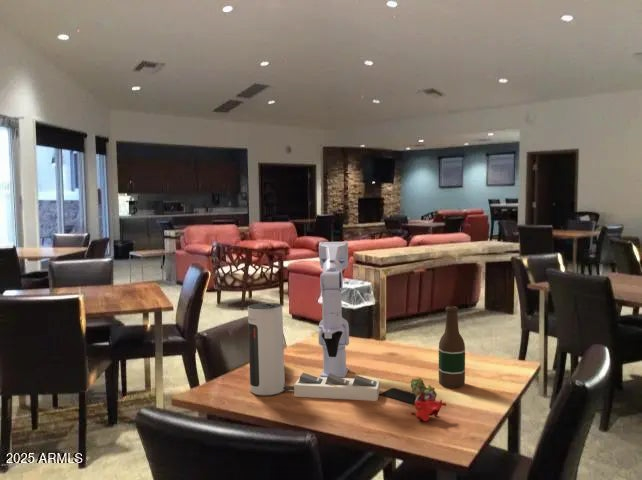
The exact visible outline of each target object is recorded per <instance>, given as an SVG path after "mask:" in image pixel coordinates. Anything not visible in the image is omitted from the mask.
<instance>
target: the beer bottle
mask: <svg viewBox="0 0 642 480" xmlns="http://www.w3.org/2000/svg"><path fill="white" fill-rule="evenodd" d="M445 311H446V315H445V328H444V333H443V334H442V336H441V338H440V340H439V342H438V384H439V385H440V386H442V387H443V388H447V389H461V388H462V387H463V386H465V384H466V383H465V381H466V344H465V340H464V339H463V336H462V335H461V334H460V330H459V320H458V319H459V318H458V315H459V314H458V311H459V308H458V306H455V305H448V306H445Z"/></svg>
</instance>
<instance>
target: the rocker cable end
mask: <svg viewBox="0 0 642 480" xmlns="http://www.w3.org/2000/svg"><path fill="white" fill-rule="evenodd" d="M318 377H319V376H315V375H311V374H308V373H304V372H302V373H301V375H300V376H299V378H300V379H299V378H298V379H299V381H301V382H305V383H311V384H321V381H322V379H321V378H318Z"/></svg>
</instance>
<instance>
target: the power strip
mask: <svg viewBox="0 0 642 480" xmlns="http://www.w3.org/2000/svg"><path fill="white" fill-rule="evenodd" d="M317 377H318V378H321V379H322V381H321V384H311V383H305V382H301V381H299V379H300V377H299V378H297V380H296V382H295V383H294V385H285V386H284V391H294V393H293V394H294V397H299V398H301V397H302V398H314V399H315V398H319V399H332V400H333V399H335V400H337V399H338V400H351V401H352V400H354V401H357V400H358V401H370V402H371V401H374V402H377V401H378V399H379V396H380V395H379V394H380V393H381V386H380V385H381V382H380V381H381V379H372V378H371V379H370V378H369V379H370V380H373V381H376V383H375V386H374V387H371V386H360V385H357V384H353V383H354V379H355V378H351V377H350V378H348V377H347V378H346V377H344V378H343V377H342V378H343V379H345V380H347V381H348V384H347V385H334V384H332V383H330V382H327V381H326V380H327V377H322V376H317Z"/></svg>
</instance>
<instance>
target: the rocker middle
mask: <svg viewBox="0 0 642 480" xmlns="http://www.w3.org/2000/svg"><path fill="white" fill-rule="evenodd" d="M326 381H327V382H330V383H332V384H334V385H347V384H348V381H347V380H345V379H343V377H338V376H336V375H333V374H331V373H329V375H328V377H327V380H326Z"/></svg>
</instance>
